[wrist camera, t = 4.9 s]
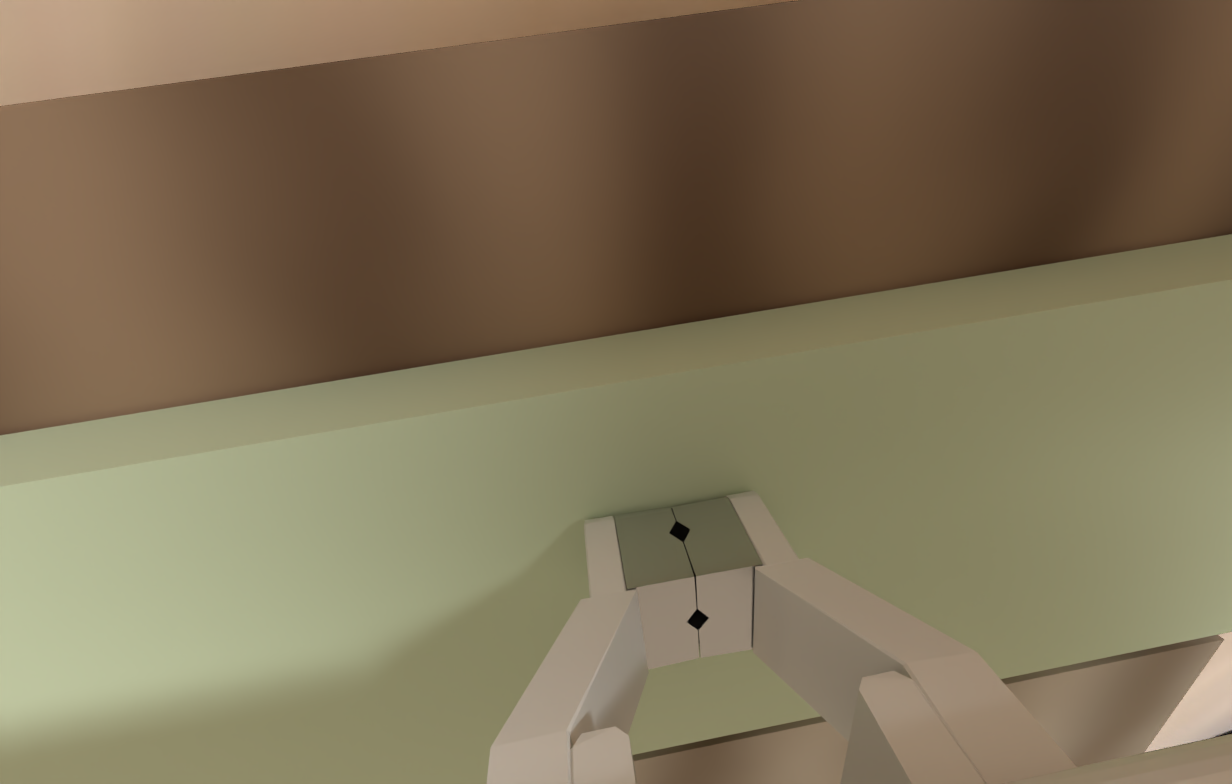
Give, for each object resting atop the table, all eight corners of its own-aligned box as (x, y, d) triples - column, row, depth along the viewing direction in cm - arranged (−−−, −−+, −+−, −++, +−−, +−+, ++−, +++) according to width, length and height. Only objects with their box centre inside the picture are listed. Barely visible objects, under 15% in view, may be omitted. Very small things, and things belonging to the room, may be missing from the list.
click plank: (1342, 215, 9) (1529, 229, 8) (1146, 570, 14) (1233, 631, 12) (-149, 459, 8) (-349, 545, 6) (176, 762, 13) (113, 861, 11)
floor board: (1478, -74, 8) (1946, -194, 6) (1063, 714, 20) (1148, 807, 17) (-435, 184, 7) (-1114, 198, 4) (293, 876, 18) (245, 1008, 15)
